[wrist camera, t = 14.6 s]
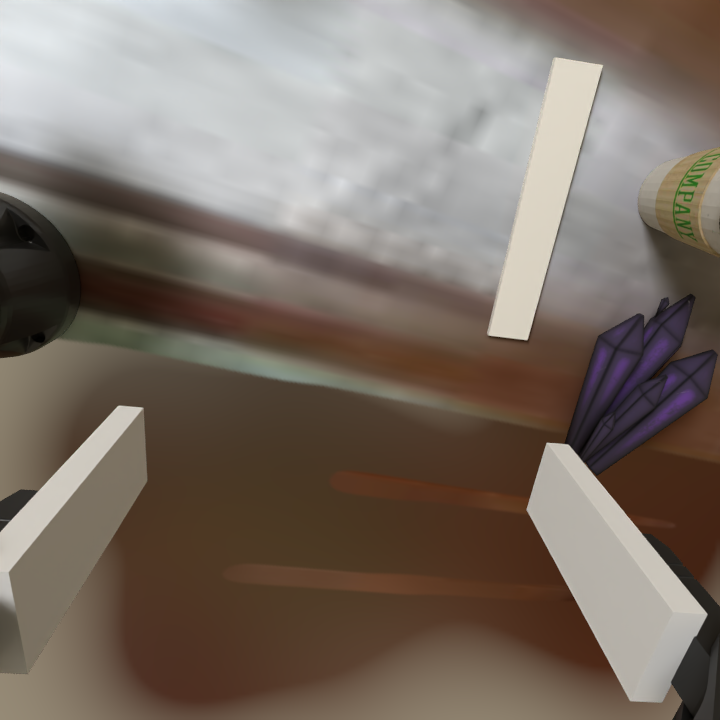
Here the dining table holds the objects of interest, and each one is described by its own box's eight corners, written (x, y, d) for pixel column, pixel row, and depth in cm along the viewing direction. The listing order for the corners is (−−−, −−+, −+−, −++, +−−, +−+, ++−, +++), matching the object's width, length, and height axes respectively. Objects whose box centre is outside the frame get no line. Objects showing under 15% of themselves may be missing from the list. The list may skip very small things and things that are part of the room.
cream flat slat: (486, 333, 49) (488, 335, 48) (553, 59, 40) (555, 57, 39) (525, 338, 49) (527, 340, 48) (599, 66, 40) (602, 65, 40)
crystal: (633, 505, 49) (785, 341, 41) (534, 458, 48) (669, 282, 40) (608, 464, 56) (734, 316, 48) (520, 422, 55) (634, 264, 47)
